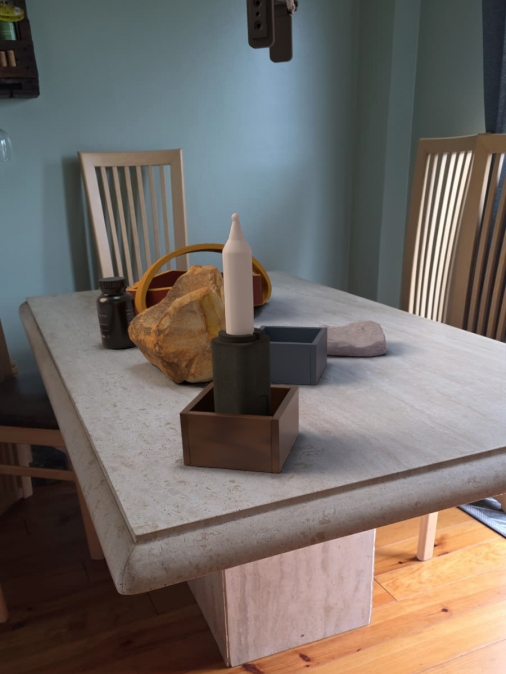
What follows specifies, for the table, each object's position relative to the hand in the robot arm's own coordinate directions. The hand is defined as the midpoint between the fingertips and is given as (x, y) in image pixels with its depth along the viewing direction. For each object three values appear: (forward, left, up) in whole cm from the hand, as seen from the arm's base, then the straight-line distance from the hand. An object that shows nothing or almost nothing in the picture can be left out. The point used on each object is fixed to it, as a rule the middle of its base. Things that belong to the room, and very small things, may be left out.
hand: (272, 55), depth 58 cm
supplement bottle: (+38, -37, -39) cm, 65 cm away
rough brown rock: (+21, -25, -39) cm, 50 cm away
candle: (+3, +4, -39) cm, 39 cm away
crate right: (+4, -25, -38) cm, 46 cm away
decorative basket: (+31, -66, -39) cm, 82 cm away
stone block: (-4, -39, -39) cm, 55 cm away
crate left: (+3, +4, -38) cm, 39 cm away
